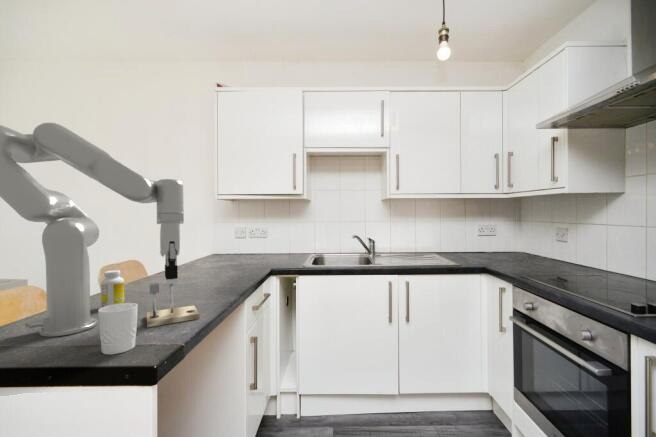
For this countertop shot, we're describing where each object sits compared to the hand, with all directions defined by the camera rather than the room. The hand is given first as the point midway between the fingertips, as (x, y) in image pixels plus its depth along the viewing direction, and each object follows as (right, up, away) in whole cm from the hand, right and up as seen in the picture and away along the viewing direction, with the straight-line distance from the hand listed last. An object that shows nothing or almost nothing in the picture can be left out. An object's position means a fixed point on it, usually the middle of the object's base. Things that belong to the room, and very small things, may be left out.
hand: (171, 277), depth 97 cm
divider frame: (+1, -11, 0) cm, 11 cm away
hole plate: (0, -13, 0) cm, 13 cm away
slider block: (0, -11, 0) cm, 11 cm away
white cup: (-1, -13, -23) cm, 26 cm away
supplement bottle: (-27, -13, +12) cm, 32 cm away
